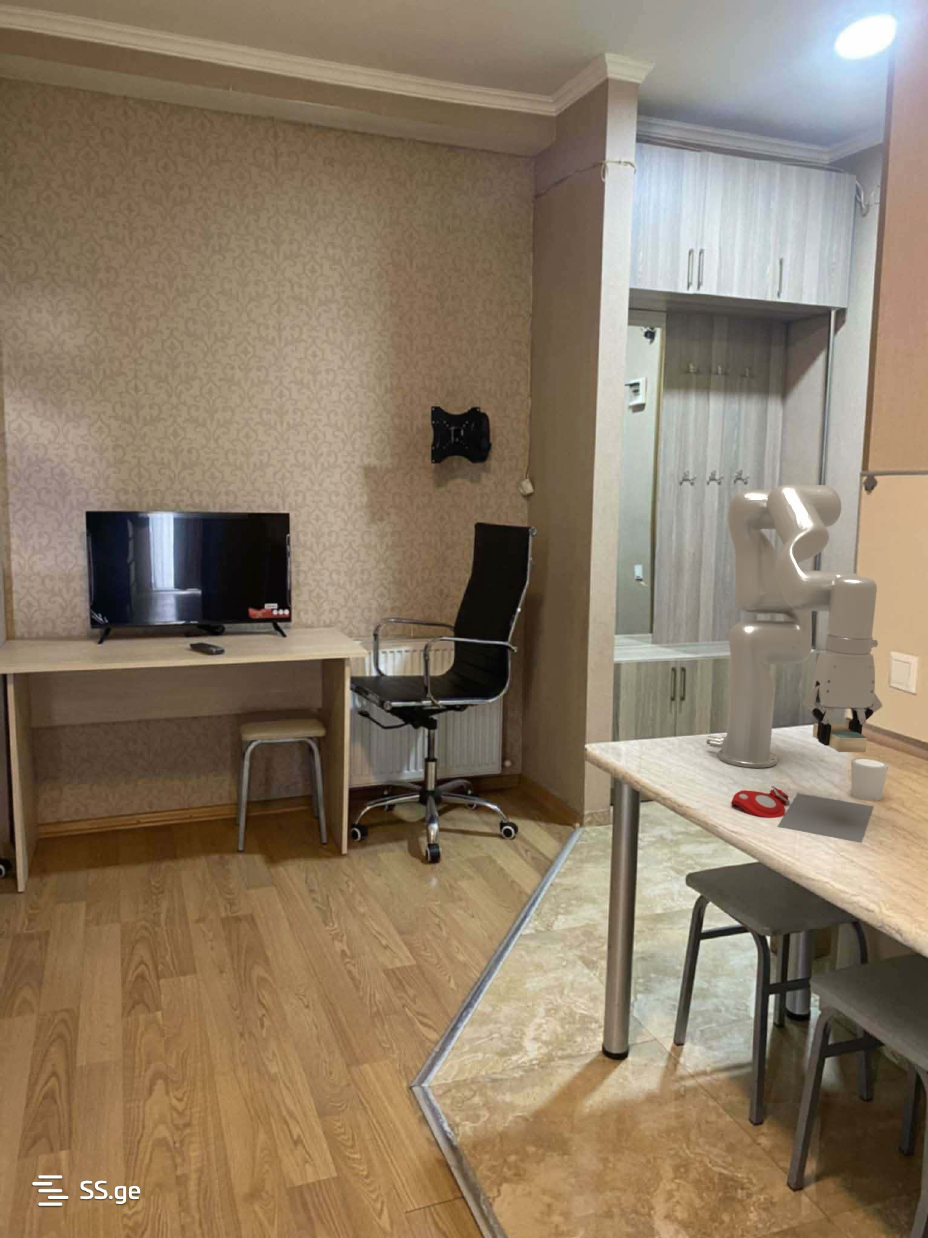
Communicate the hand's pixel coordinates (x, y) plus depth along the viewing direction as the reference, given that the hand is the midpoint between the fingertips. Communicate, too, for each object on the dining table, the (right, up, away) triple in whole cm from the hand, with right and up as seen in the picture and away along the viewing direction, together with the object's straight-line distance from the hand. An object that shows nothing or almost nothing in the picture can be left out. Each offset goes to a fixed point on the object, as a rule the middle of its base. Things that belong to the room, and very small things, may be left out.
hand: (838, 742), depth 174 cm
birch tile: (0, 0, 0) cm, 0 cm away
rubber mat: (-1, -15, +3) cm, 15 cm away
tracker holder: (-11, -14, +6) cm, 19 cm away
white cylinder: (+12, -13, +18) cm, 25 cm away
